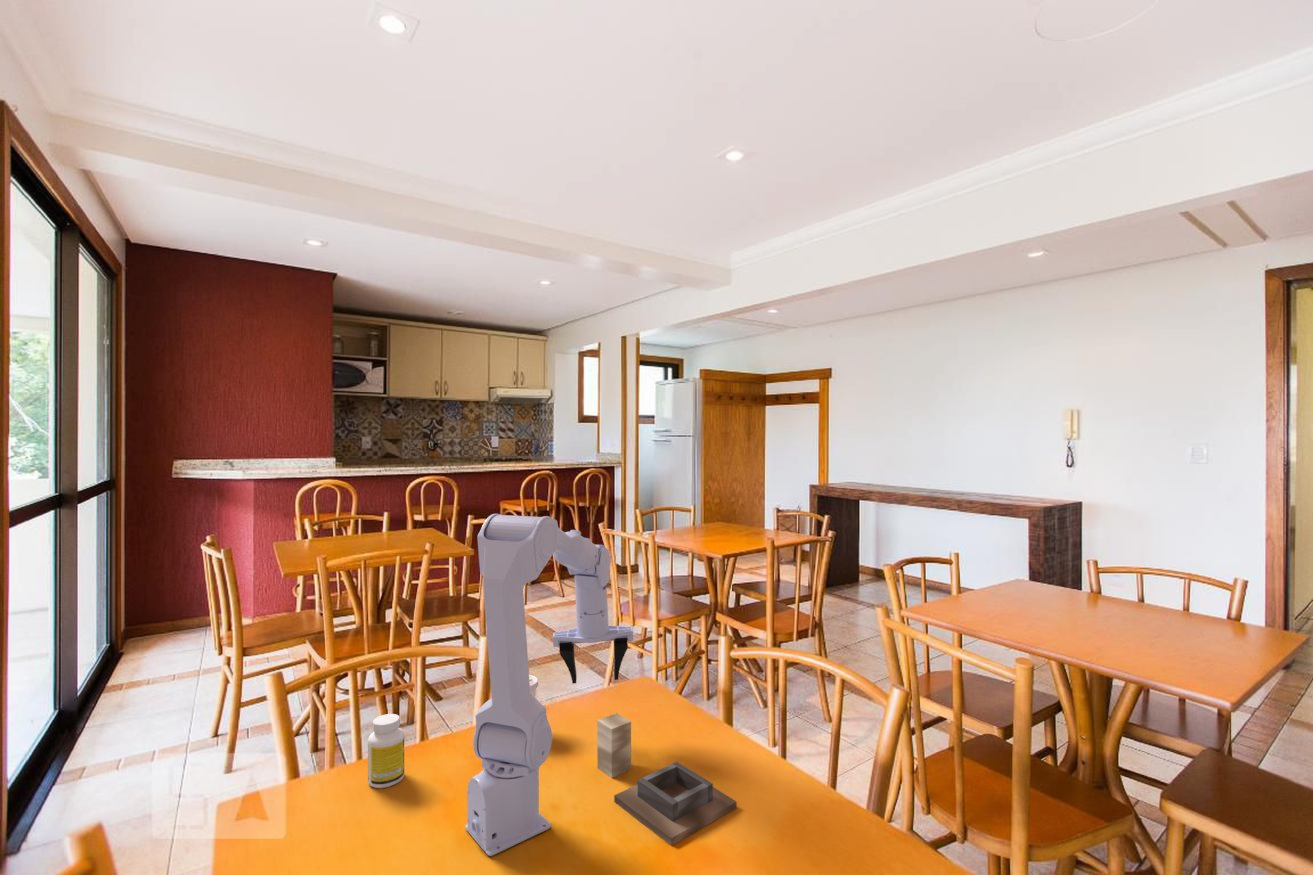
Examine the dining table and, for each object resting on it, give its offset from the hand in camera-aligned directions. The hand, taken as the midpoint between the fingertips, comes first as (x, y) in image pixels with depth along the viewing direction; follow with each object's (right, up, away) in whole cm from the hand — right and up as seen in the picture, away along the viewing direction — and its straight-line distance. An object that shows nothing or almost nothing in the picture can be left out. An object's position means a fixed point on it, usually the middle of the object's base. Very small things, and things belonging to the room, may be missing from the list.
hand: (595, 678), depth 115 cm
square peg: (+4, -11, -11) cm, 16 cm away
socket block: (+14, -11, -21) cm, 28 cm away
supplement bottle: (-32, -11, -15) cm, 37 cm away
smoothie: (-14, -10, +1) cm, 17 cm away
